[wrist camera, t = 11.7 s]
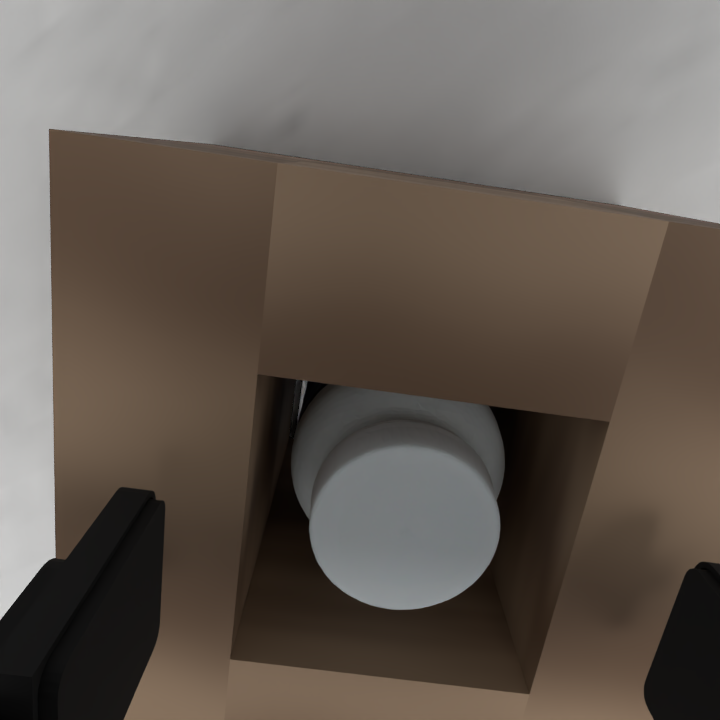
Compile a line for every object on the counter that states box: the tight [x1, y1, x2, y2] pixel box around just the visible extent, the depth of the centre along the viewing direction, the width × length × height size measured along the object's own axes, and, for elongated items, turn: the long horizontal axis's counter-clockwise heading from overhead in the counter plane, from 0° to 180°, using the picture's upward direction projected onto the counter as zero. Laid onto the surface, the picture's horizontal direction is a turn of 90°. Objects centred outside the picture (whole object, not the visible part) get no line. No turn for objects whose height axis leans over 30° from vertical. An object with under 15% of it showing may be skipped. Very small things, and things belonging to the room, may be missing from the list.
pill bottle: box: [291, 381, 505, 610], centre depth 17 cm, size 5×5×10 cm
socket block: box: [49, 129, 720, 720], centre depth 18 cm, size 14×14×11 cm
